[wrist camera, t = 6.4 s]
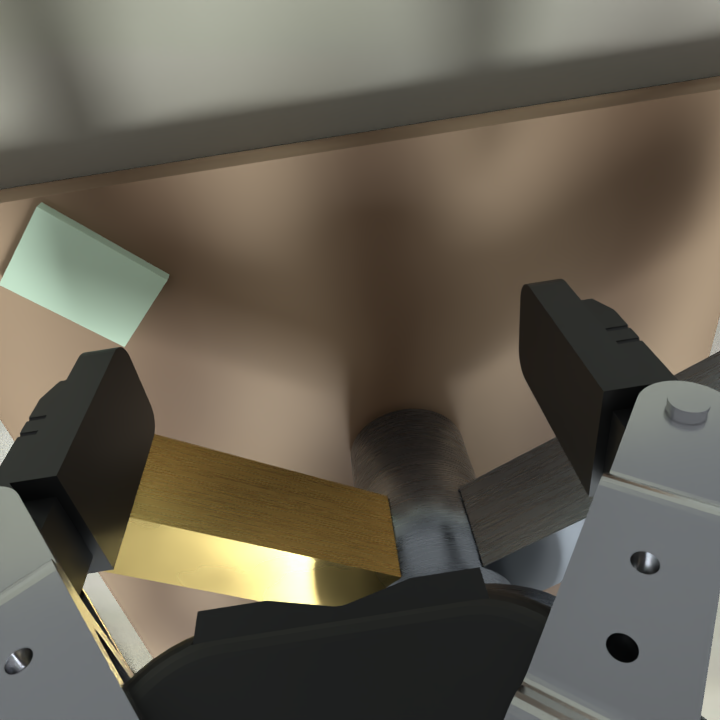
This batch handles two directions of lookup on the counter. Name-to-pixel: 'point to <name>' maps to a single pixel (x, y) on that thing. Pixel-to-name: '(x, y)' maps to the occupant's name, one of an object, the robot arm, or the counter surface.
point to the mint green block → (82, 276)
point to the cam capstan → (359, 516)
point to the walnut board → (381, 281)
